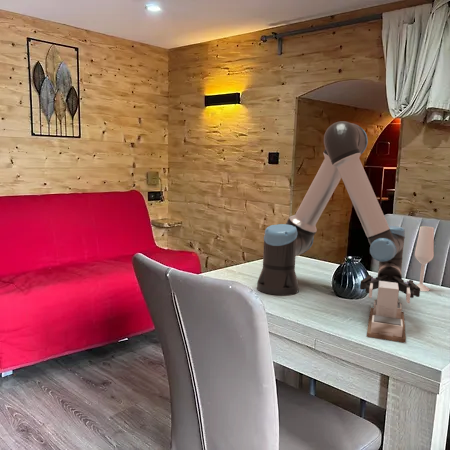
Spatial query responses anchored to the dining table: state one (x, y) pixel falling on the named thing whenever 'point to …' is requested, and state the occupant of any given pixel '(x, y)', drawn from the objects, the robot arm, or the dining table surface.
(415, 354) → the dining table surface
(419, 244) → the champagne flute
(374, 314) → the board
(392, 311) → the small box
